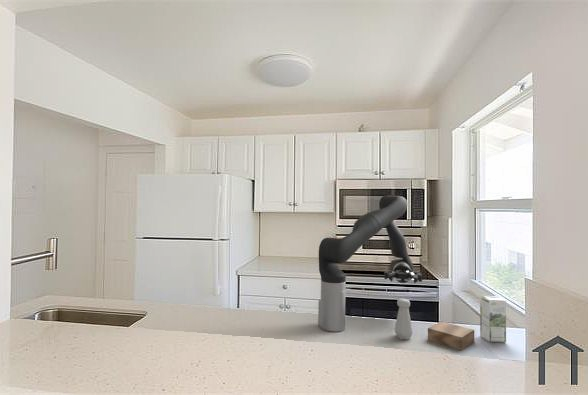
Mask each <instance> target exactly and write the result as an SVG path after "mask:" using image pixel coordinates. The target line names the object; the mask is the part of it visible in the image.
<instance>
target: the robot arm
mask: <svg viewBox="0 0 588 395" xmlns="http://www.w3.org/2000/svg"><path fill="white" fill-rule="evenodd" d="M378 207H379V209H375V210H373V211H369V212H367V213H365V214H363V215H362V216H360V217H359V218H358V219H357V220H355V222H354V223H353V226H352V229H351V230H352V231H351V232H350V233H348V234H347V235H346V236H344V237H341V238H338V237H337V238H336V237H325V238H323V239H322V240H321V241H320V243H319V246H318V272H319V275H320V299H319V300H318V307H317V308H318V311H317V313H318V316H317V317H318V318H317V319H318V320H317V326H318V327H320V329H321V330H324V331H327V332H334V333H335V332H343V331H344V330H345V329H346V294H347V293H346V281H347V280H346V279H347V278H346V273H344V271H342V270H341V269H340V268H339V266H338V264H344V263H346V262H347V261H348V260H350V259H351V257H352V256H354V254H355V253H356V252H357V251H358V250H359V249H360V248H361V247H362V246H363V245H365V244H366V243H367V242H368V241H369V240H370V239H371V238H373V237H375V235H377V234H378V233H379V232H380V231H381V230H382V229H385V230H386V232H387V235H388V240H389V245H390V252H391V256H393V257H394V258H397V259H392V260H391V261H390V263H389V264H390V265H389V268H390V271H389V270H387V269H386V270H385V271H384V272H383V274H384V275H383V277H384V280H388V281H389V280H390V282H393V281H397V282H398V283H400V284H406V283H408V282H413V283H414V284H416V283H418V282H420V283H422V282H423V274H422V273H421V272H417V273H415V272H413V271H414V264H413V262H412V260H411V258H410V256H409V253H408V250H407V244H406V243H407V241H406V239H405V236H404V234H403V233H402V232H401V229H400V228H399V227H398V226H397V223H396V222H395V220H397V219H399V218H400V217H402V216H403V215H404V214H405V213H406V211H407V208H408V201H407V199H406V198H405V197H404V196H401V195H382V196H381V197H380V199H379V203H378Z"/></svg>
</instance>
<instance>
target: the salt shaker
mask: <svg viewBox="0 0 588 395" xmlns="http://www.w3.org/2000/svg"><path fill="white" fill-rule="evenodd" d="M396 302H397V303H396V304H397V306H398V311H397V315H396V322H395V326H394V332H395V335H396V337H397V338H398V339H400V340H406V341H407V340H410V339H411V337H412V335H413V328H412V320H411V315H410V307H411V302H410V300H409V299H406V298H399V299H397V301H396Z"/></svg>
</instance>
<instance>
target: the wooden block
mask: <svg viewBox="0 0 588 395" xmlns="http://www.w3.org/2000/svg"><path fill="white" fill-rule="evenodd" d="M427 341H430V342H433V343H437V344H439V345H443V346H446V347H450V348H452V349H455V350H460V351H463V350H465V349H467V348H468V347H469V346H471V345H473V343H475V329H472V328H468V327H464V326H462V325H456V324H452V323H449V322H446V321H440V322H437V323H436V324H434V325H431V326H430V327H427Z"/></svg>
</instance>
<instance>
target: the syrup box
mask: <svg viewBox="0 0 588 395" xmlns="http://www.w3.org/2000/svg"><path fill="white" fill-rule="evenodd" d="M479 300H480V305H479V307H480V308H479V309H480V310H479V311H480V314H479V316H480V317H479V318H480V323H479V324H480V326H479V328H480V335H479V336H480V337H481V338H482V339H484V340H485V341H487V342H489V343H502V342H506V343H507V301H506V299H504V298H502V297H501V296H496V295H495V296H494V295H480V297H479Z"/></svg>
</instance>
